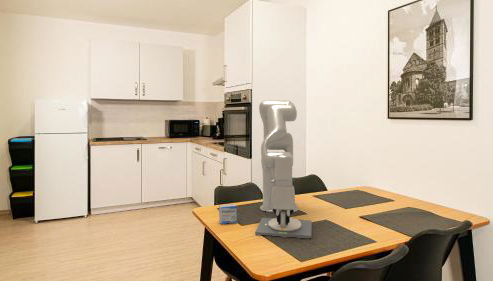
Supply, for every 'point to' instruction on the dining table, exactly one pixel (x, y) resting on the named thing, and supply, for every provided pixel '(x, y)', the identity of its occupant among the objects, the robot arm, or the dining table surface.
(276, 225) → the dial
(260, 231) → the dial board
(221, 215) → the medicine box
